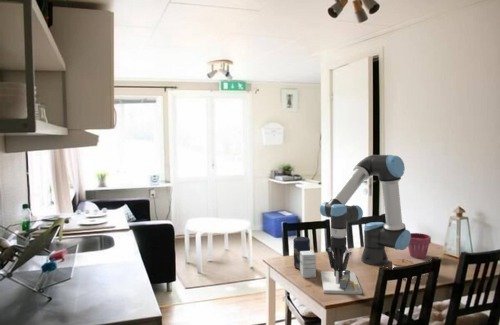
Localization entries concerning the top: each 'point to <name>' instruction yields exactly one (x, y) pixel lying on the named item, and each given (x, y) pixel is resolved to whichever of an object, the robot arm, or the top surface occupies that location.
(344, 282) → the arm
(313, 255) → the supplement box
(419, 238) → the plant pot
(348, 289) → the door board
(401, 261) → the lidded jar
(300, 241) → the canister
